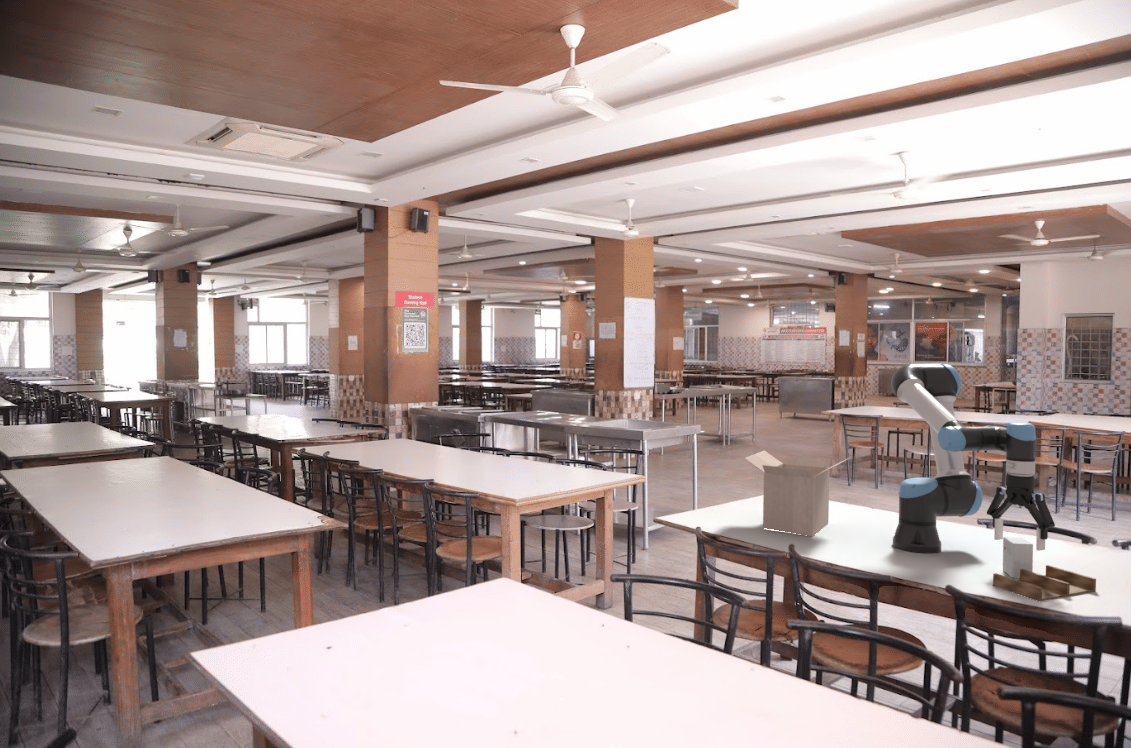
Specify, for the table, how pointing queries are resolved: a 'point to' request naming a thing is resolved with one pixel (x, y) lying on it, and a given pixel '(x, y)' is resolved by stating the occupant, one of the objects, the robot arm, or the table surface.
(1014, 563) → the small box
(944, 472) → the robot arm
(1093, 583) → the rack
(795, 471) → the box
